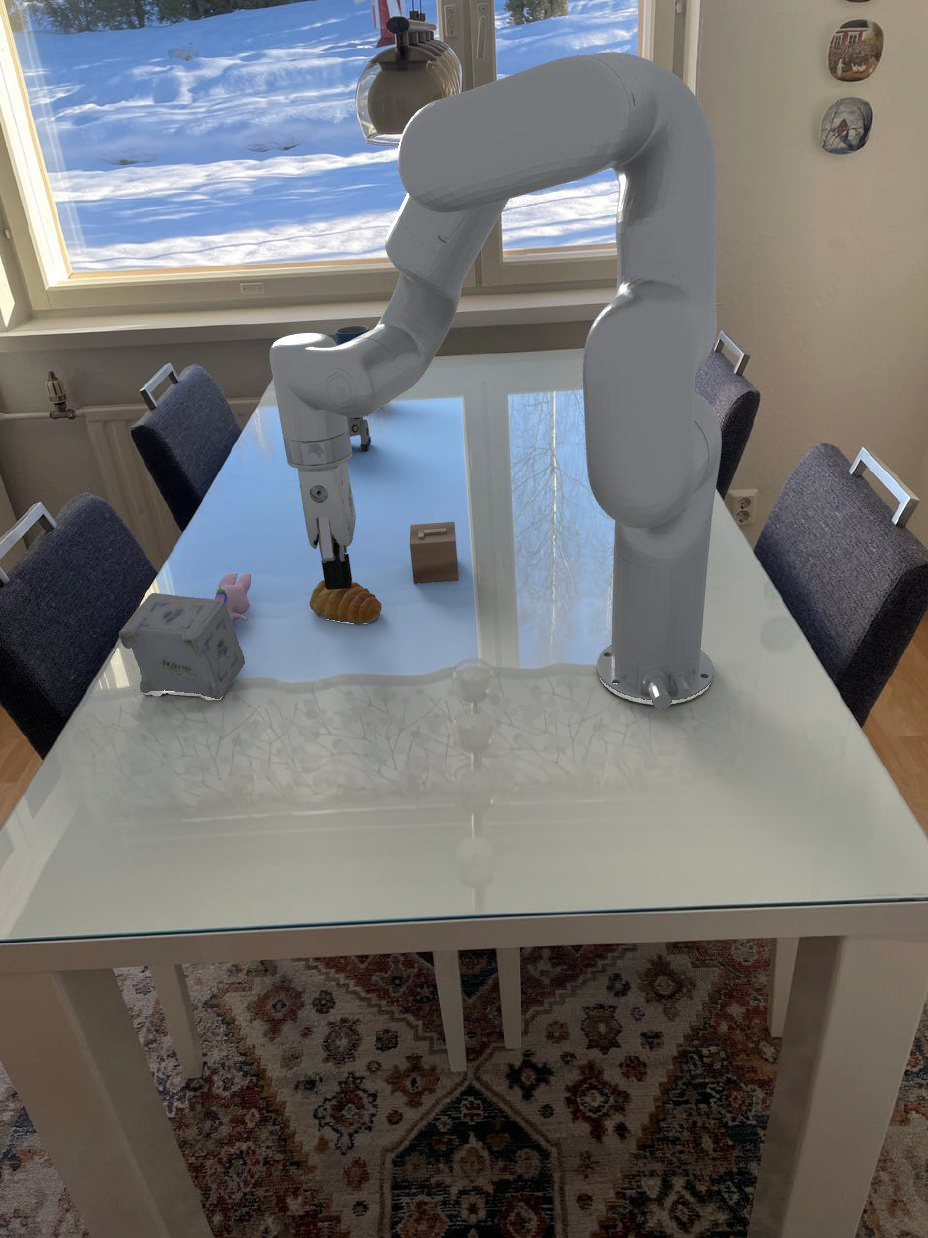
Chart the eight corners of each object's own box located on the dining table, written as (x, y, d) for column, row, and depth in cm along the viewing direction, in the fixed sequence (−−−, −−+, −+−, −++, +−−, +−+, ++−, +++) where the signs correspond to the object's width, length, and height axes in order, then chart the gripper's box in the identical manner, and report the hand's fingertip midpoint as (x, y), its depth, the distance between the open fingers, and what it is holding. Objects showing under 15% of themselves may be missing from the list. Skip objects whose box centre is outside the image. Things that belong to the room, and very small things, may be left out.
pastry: (394, 610, 120) (391, 584, 118) (361, 635, 115) (357, 608, 113) (339, 593, 125) (335, 568, 123) (304, 616, 120) (300, 590, 118)
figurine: (376, 433, 178) (367, 354, 170) (366, 455, 168) (356, 372, 160) (329, 434, 179) (318, 356, 171) (316, 456, 169) (304, 374, 161)
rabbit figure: (243, 657, 114) (267, 582, 126) (232, 620, 111) (258, 546, 122) (193, 659, 115) (221, 583, 126) (180, 622, 111) (211, 548, 123)
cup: (339, 407, 193) (329, 333, 185) (352, 396, 199) (343, 324, 191) (370, 408, 191) (361, 333, 184) (382, 397, 197) (374, 325, 189)
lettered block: (458, 581, 125) (455, 538, 122) (413, 584, 125) (409, 542, 122) (457, 560, 130) (454, 519, 127) (414, 563, 130) (410, 522, 127)
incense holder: (136, 702, 105) (112, 623, 100) (176, 662, 112) (156, 586, 107) (213, 713, 102) (193, 632, 97) (249, 671, 109) (232, 593, 104)
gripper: (345, 467, 101) (365, 614, 110) (354, 422, 114) (372, 557, 123) (276, 472, 101) (302, 618, 111) (293, 427, 114) (315, 561, 123)
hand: (339, 585), depth 117 cm, fingers closed
